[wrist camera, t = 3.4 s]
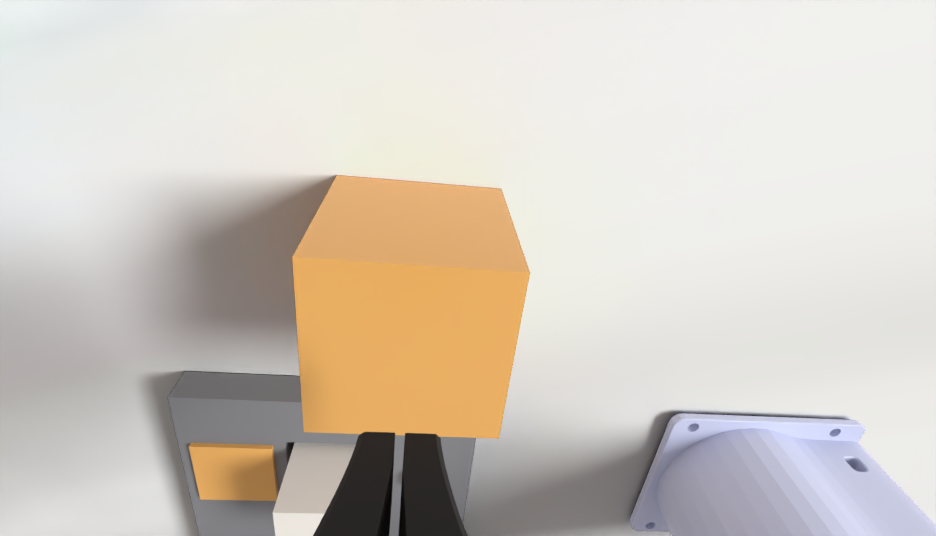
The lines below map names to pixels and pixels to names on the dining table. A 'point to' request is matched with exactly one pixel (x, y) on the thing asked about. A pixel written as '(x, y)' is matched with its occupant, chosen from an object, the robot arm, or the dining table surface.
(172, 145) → the dining table surface
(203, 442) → the panel
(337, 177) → the orange cube
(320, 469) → the white rectangular block
